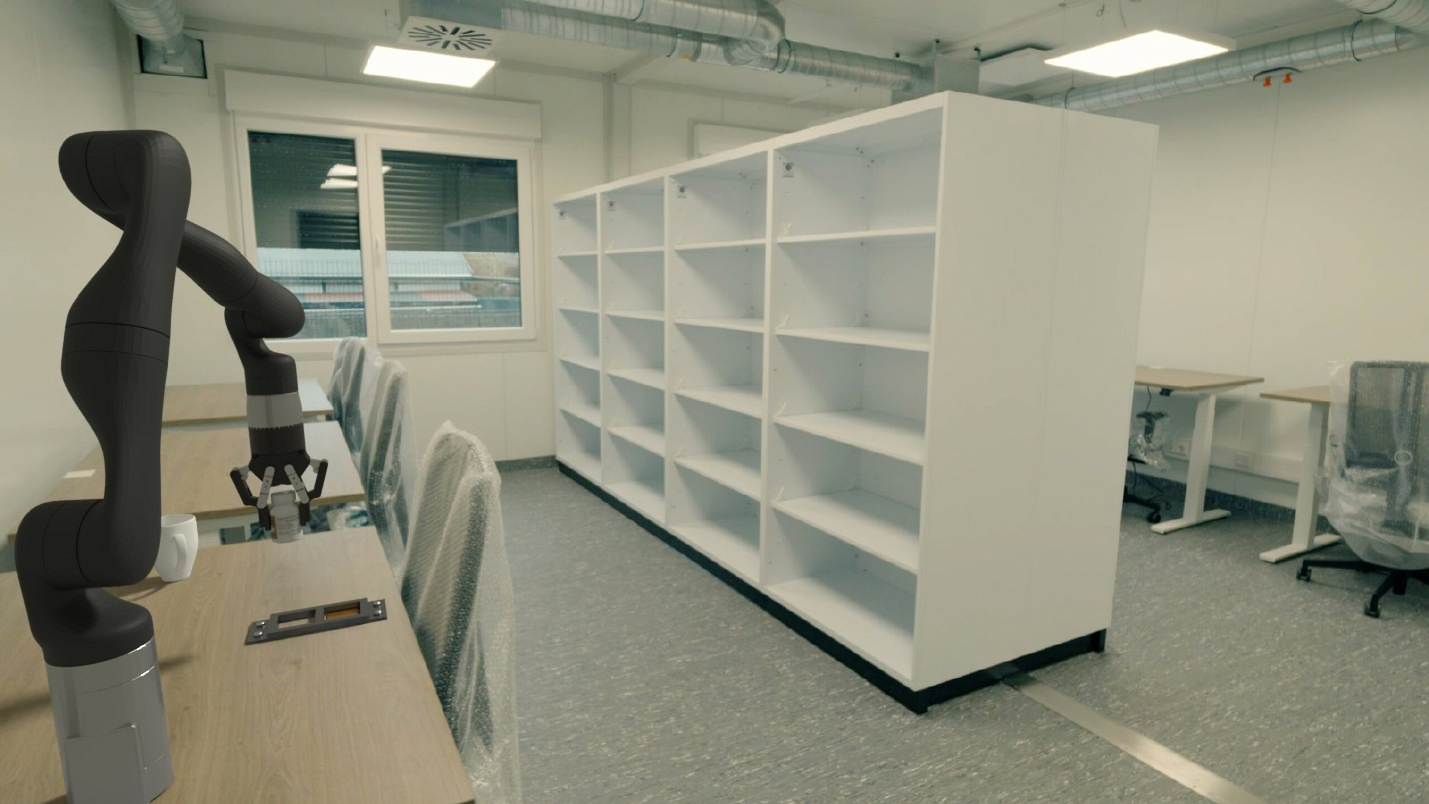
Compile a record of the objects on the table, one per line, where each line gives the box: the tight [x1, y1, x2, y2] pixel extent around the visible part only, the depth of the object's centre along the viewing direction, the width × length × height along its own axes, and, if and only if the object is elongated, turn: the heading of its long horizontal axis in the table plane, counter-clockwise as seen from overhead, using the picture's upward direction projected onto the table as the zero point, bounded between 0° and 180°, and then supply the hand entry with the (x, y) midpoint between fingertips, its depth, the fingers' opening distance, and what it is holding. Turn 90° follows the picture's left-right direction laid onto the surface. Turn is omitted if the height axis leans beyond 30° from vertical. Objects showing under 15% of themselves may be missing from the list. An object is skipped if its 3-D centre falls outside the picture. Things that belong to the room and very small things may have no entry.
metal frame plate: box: [246, 597, 388, 646], centre depth 126 cm, size 8×20×1 cm, turn 116°
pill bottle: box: [269, 489, 304, 545], centre depth 122 cm, size 4×4×8 cm
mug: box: [153, 513, 199, 583], centre depth 143 cm, size 12×8×11 cm
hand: (286, 526), depth 122 cm, fingers closed on pill bottle, 4 cm apart
